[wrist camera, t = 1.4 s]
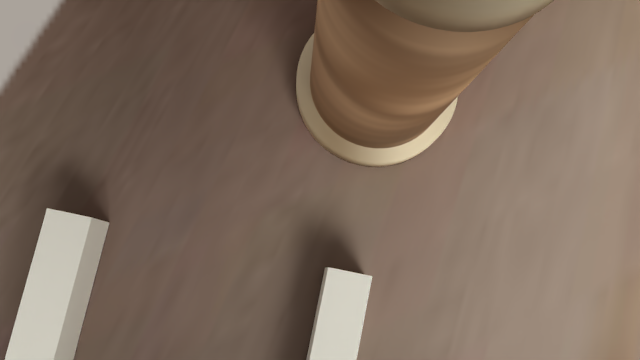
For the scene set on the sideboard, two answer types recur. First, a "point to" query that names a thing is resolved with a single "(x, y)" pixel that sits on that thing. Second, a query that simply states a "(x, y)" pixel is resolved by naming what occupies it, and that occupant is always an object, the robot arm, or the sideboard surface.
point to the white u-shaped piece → (78, 277)
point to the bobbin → (396, 70)
